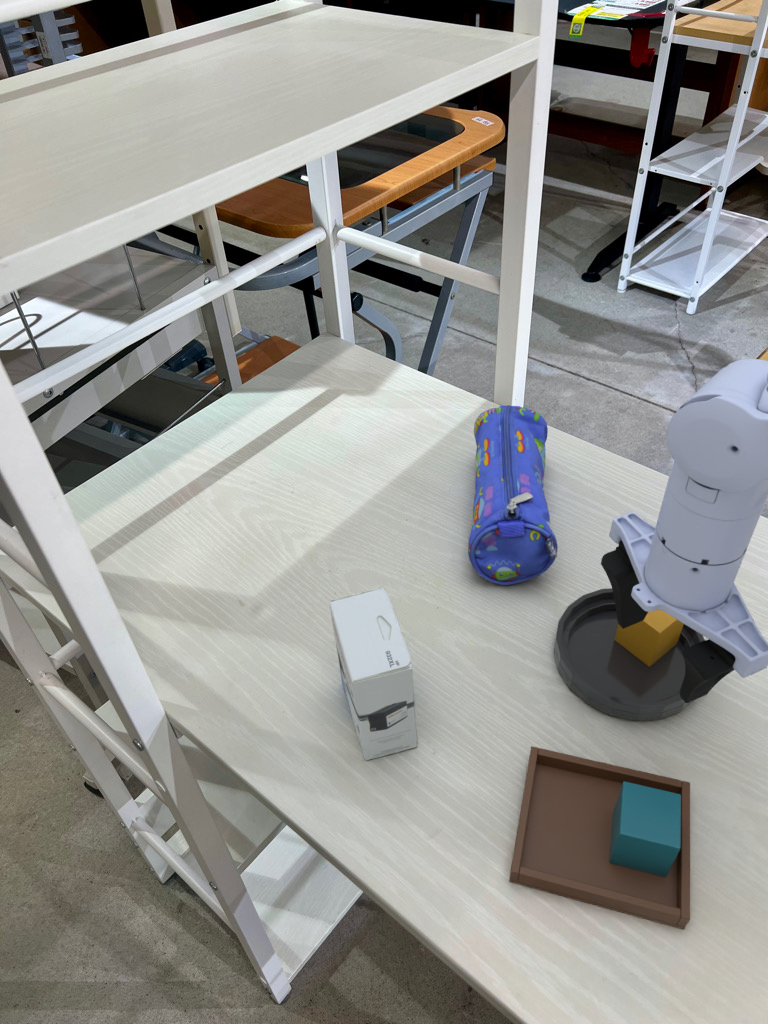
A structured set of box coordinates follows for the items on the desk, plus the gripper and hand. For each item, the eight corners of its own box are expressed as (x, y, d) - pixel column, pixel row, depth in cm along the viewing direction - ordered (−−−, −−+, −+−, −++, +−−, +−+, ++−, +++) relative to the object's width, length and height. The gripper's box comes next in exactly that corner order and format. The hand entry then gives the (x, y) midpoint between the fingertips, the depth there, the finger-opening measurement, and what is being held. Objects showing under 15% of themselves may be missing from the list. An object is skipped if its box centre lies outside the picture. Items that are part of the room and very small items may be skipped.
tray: (684, 793, 59) (690, 782, 58) (684, 929, 52) (690, 920, 50) (529, 757, 62) (531, 745, 61) (509, 881, 55) (510, 871, 53)
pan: (701, 618, 71) (707, 601, 69) (702, 737, 62) (710, 721, 60) (562, 594, 74) (565, 577, 73) (545, 704, 65) (548, 688, 64)
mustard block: (677, 644, 69) (689, 609, 65) (649, 667, 67) (660, 633, 64) (641, 618, 71) (651, 583, 68) (614, 639, 69) (622, 605, 66)
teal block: (665, 877, 54) (680, 848, 51) (609, 863, 55) (619, 833, 52) (667, 824, 57) (681, 794, 53) (612, 811, 58) (623, 780, 54)
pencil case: (553, 597, 74) (563, 528, 68) (466, 593, 75) (468, 525, 69) (543, 457, 90) (551, 390, 83) (472, 455, 91) (473, 389, 85)
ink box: (340, 680, 68) (326, 597, 60) (392, 667, 69) (384, 583, 61) (363, 763, 62) (350, 683, 54) (419, 747, 63) (415, 666, 55)
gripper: (586, 486, 53) (565, 608, 62) (730, 635, 43) (680, 754, 52) (667, 458, 55) (635, 581, 64) (825, 594, 45) (760, 716, 54)
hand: (660, 656), depth 58 cm, fingers open, 7 cm apart
